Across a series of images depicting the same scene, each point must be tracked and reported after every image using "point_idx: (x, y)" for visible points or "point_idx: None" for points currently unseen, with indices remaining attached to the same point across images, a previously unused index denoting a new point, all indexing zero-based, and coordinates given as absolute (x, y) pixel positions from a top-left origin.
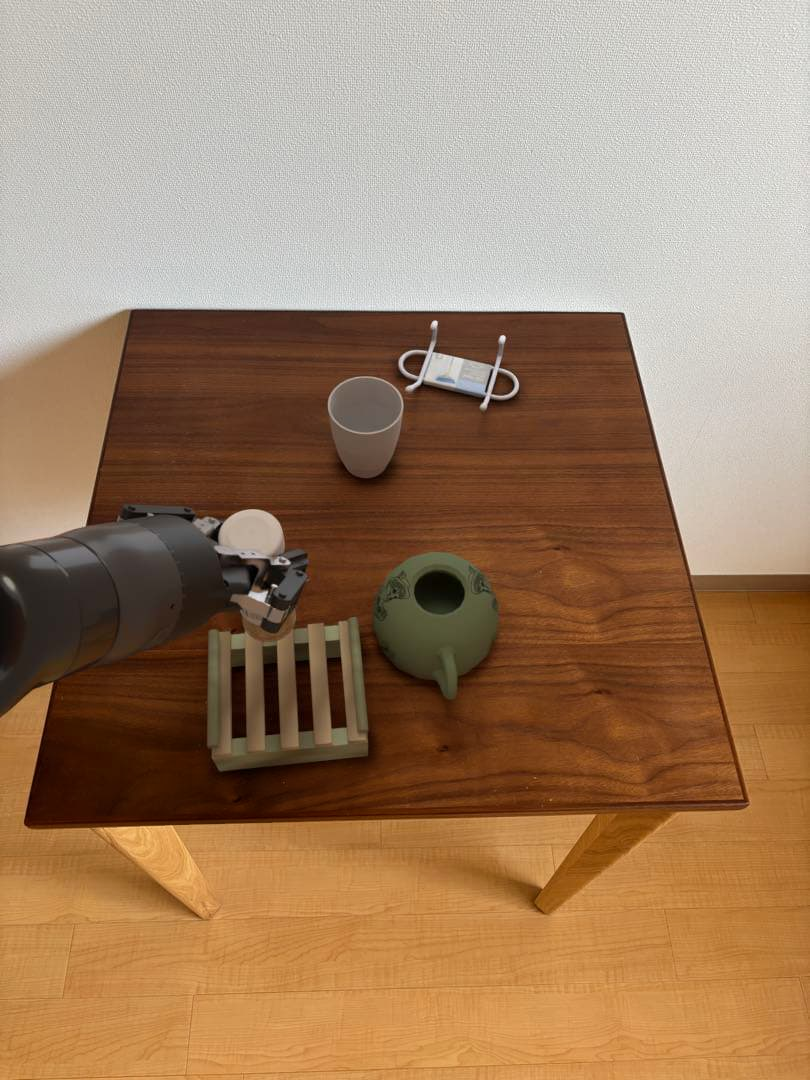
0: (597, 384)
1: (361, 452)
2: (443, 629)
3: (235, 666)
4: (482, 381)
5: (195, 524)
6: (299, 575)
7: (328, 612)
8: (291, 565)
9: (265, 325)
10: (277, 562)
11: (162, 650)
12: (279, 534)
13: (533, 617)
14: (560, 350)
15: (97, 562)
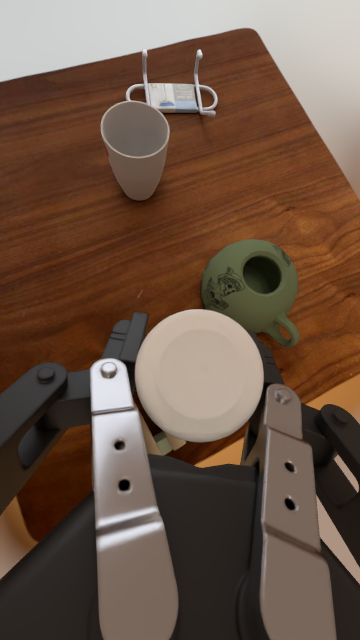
0: (263, 82)
1: (145, 177)
2: (278, 303)
3: None
4: (192, 98)
5: (105, 467)
6: (348, 426)
7: (167, 309)
8: (274, 381)
9: (6, 93)
10: (291, 415)
11: None
12: (254, 348)
13: (293, 262)
14: (230, 62)
15: None
